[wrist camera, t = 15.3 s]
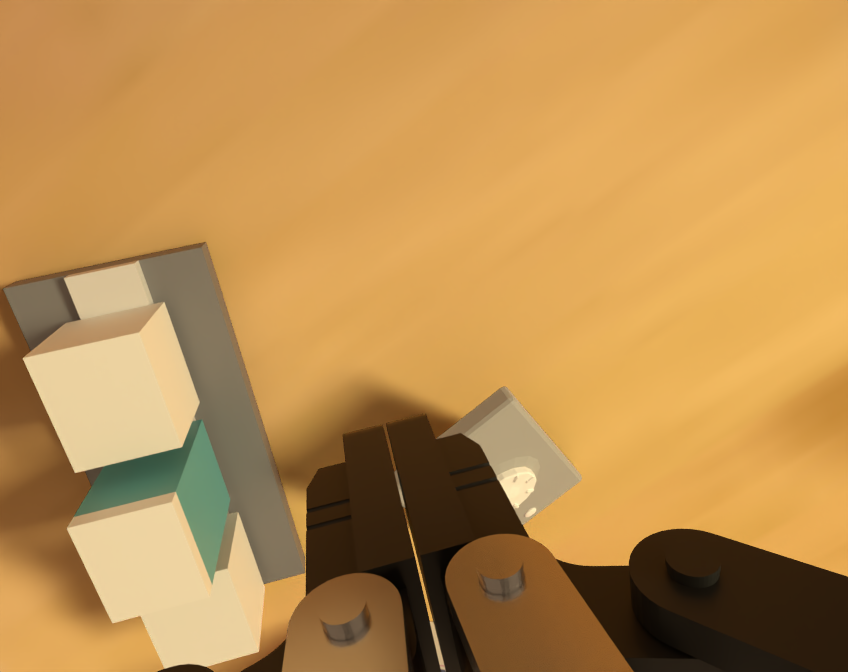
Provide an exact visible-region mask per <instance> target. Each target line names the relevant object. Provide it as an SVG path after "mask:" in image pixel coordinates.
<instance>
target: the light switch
mask: <svg viewBox="0 0 848 672" xmlns="http://www.w3.org/2000/svg"><path fill="white" fill-rule="evenodd" d="M459 433H462V434H463V435H465V436H466V437H468V438H470V439H471V440H473V441H475V442H476V443H478V444H479V445H480V446H481V448H482V450H483V452H484V453H485V455H486V457H487V459H488V461H489V464H490V466H491V467H492V468H493V470H494V472H495V474H496V476H497V479H498V480H499V482H500V484H501V485H502V487H503V489H504V491H505V493H506V495H507V497H508V499H509V500H510V502H511V504H512V506H513V508H514V510H515V512H516V514H517V516H518V517H519V519H520V521H521V523H522V525H524V524H525V523H526V522H528V521H529V520H530V519H531V518H533V517H534V516H535V515H537V514H538V513H539V512H541V511H542V510H543V509H545V508H546V507H547V506H548V505H550V504H551V503H552V502H554V501H555V500H556V499H558V498H559V497H560V496H562V495H563V494H564V493H565V492H567V491H568V490H569V489H571V488H572V487H573V486H575V485H576V484H577V483H579V482H580V481H581V479H582V477H581V474H580V473H579V472H578V471H577V469H576V468H575V467H574V466H573V465H572V463H571V462H570V461H569V460H568V459H567V457H566V456H565V455H564V454H563V453H562V452H561V450H560V449H559V448H558V447H557V446H556V445H555V443H554V442H553V441H552V440H551V439H550V437H549V436H548V435H547V434H546V433H545V432H544V430H543V429H542V428H541V427H540V426H539V425H538V423H537V422H536V421H535V420H534V419H533V417H532V416H531V415H530V414H529V413H528V412H527V410H526V409H525V408H524V407H523V406H522V405H521V403H520V402H519V401H518V400H517V399H516V398H515V396H514V395H513V394H512V393H511V392H510V390H509V389H508V388H507V387H502V388H500V389H499V390H497V391H496V392H495V393H494V394H492V395H491V396H490V397H488V398H487V399H486V400H485V401H483V402H482V403H481V404H480V405H478V406H477V407H476V408H475V409H473V410H472V411H471V412H469V413H468V414H467V415H466V416H464V417H463V418H462V419H461V420H459V421H458V422H457V423H455V424H454V425H453V426H452V427H450V428H449V429H448V430H447V431H445V432H444V433H443V434H442V435H440V436H439V437H438V438H436V439H439V438H443V437H447V436H451V435H455V434H459ZM394 473H395V478H396V482H397V486H398V490H399V494H400V498H401V502H402V506H403V507H405V504H404V500H403V496H402V491H401V487H400V483H399V478H398V474H397V470H396V471H395V472H394Z"/></svg>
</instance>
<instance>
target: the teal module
mask: <svg viewBox="0 0 848 672" xmlns="http://www.w3.org/2000/svg"><path fill="white" fill-rule="evenodd" d="M229 503H230V497H229V494H228V491H227V488H226V485H225V482H224V480H223V477H222V474H221V471H220V468H219V465H218V463H217V460H216V457H215V454H214V451H213V449H212V446H211V443H210V440H209V437H208V434H207V432H206V429H205V426H204V423H203V420H202V419H201V420H197V421H192V423H191V426H190V428H189V431H188V433H187V436H186V438H185V441H184V444H183V446H182V447H181V448H176V449H172V450H168V451H164V452H160V453H156V454H152V455H148V456H143V457H139V458H135V459H131V460H127V461H123V462H119V463H115V464H110V465H106V466H104V467H103V469H102V470H101V472H100V474H99V475H98V477H97V479H96V480H95V482H94V484H93V485H92V487H91V489H90V490H89V492H88V494H87V495H86V497H85V499H84V500H83V502H82V504H81V505H80V507H79V509H78V510H77V512H76V514H75V515H74V517H73V519H72V520H71V522H70V524H69V525H68V527H67V530H68V532H69V534H70V536H71V539H72V541H73V543H74V545H75V547H76V549H77V551H78V553H79V555H80V557H81V559H82V561H83V563H84V566H85V568H86V570H87V572H88V574H89V576H90V578H91V580H92V582H93V584H94V586H95V588H96V590H97V593H98V595H99V597H100V599H101V601H102V603H103V605H104V607H105V609H106V611H107V613H108V615H109V617H110V619H111V622H112V623H116V622H119V621H123V620H127V619H130V618H134V617H138V616H142V615H145V614H149V613H153V612H156V611H160V610H164V609H168V608H171V607H175V606H179V605H182V604H186V603H190V602H194V601H197V600H201V599H205V598H208V597H210V593H211V589H212V584H213V579H214V574H215V570H216V565H217V560H218V555H219V551H220V546H221V541H222V537H223V532H224V527H225V522H226V518H227V513H228V508H229Z"/></svg>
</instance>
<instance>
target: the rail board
mask: <svg viewBox="0 0 848 672" xmlns="http://www.w3.org/2000/svg"><path fill="white" fill-rule="evenodd" d="M3 290H4V293H5V295H6V297H7V299H8V301H9V304H10V306H11V308H12V310H13V312H14V315H15V317H16V319H17V321H18V324H19V326H20V328H21V330H22V332H23V335H24V337H25V339H26V341H27V344H28V346H29V348H30V350H31V352H30V353H28V354H27V355H26V356H25V357H23V360H24V363H25V365H26V367H27V369H28V371H29V374H30V376H31V378H32V380H33V382H34V384H35V387H36V389H37V391H38V393H39V395H40V398H41V400H42V402H43V404H44V406H45V408H46V411H47V413H48V415H49V417H50V419H51V422H52V424H53V426H54V428H55V430H56V432H57V435H58V437H59V439H60V441H61V443H62V446H63V448H64V450H65V452H66V454H67V457H68V459H69V461H70V463H71V465H72V467H73V470H74V472H75V473H78V472H82V471H85V472H86V475H87V477H88V479H89V481H90V484H91V486H92V485H93V484H94V482H95V480H96V479H97V477H98V475H99V474H100V472H101V470H102V469H103V467H104V466H106V465H110V464H115V463H119V462H123V461H127V460H131V459H135V458H139V457H143V456H148V455H152V454H156V453H160V452H164V451H168V450H172V449H176V448H181V447H182V446H183V444H184V441H185V438H186V436H187V433H188V431H189V428H190V426H191V423H192V421H197V420H201V419H202V420H203V423H204V426H205V429H206V432H207V434H208V437H209V440H210V443H211V446H212V449H213V451H214V454H215V457H216V460H217V463H218V465H219V468H220V471H221V474H222V477H223V480H224V482H225V485H226V488H227V491H228V494H229V497H230V503H229V508H228V513H227V518H226V522H225V527H224V532H223V537H222V541H221V546H220V551H219V555H218V560H217V565H216V570H215V574H214V579H213V584H212V589H211V593H210V597H208V598H205V599H201V600H197V601H194V602H190V603H186V604H182V605H179V606H175V607H171V608H168V609H164V610H160V611H156V612H153V613H149V614H145V615H142V616H141V618H142V620H143V623H144V625H145V627H146V629H147V631H148V633H149V636H150V638H151V640H152V642H153V644H154V647H155V649H156V651H157V653H158V655H159V657H160V660H161V662H162V664H163V666H164V668H165V669H166V668H169V667H173V666H177V665H183V664H196V665H201V666H205V667H207V666H211V665H214V664H218V663H221V662H225V661H228V660H232V659H236V658H239V657H243V656H246V655H250V654H253V653H257V652H259V645H260V635H261V624H262V614H263V604H264V593H265V587H264V584H266V583H270V582H273V581H277V580H281V579H285V578H288V577H292V576H296V575H299V574H303V573H305V556H304V553H303V550H302V547H301V544H300V540H299V537H298V534H297V531H296V528H295V524H294V521H293V518H292V515H291V512H290V508H289V505H288V502H287V499H286V496H285V492H284V489H283V486H282V483H281V480H280V477H279V473H278V470H277V467H276V464H275V461H274V457H273V454H272V451H271V448H270V445H269V441H268V438H267V435H266V432H265V429H264V425H263V422H262V419H261V416H260V413H259V409H258V406H257V403H256V400H255V397H254V394H253V390H252V387H251V384H250V381H249V378H248V374H247V371H246V368H245V365H244V362H243V358H242V355H241V352H240V349H239V346H238V342H237V339H236V336H235V333H234V330H233V326H232V323H231V320H230V317H229V314H228V311H227V307H226V304H225V301H224V298H223V295H222V291H221V288H220V285H219V282H218V279H217V275H216V272H215V269H214V266H213V263H212V259H211V256H210V253H209V250H208V247H207V243H206V242H204V243H199V244H194V245H190V246H185V247H180V248H175V249H170V250H166V251H161V252H156V253H151V254H146V255H142V256H137V257H132V258H127V259H122V260H118V261H113V262H108V263H103V264H98V265H93V266H89V267H84V268H79V269H74V270H69V271H65V272H60V273H55V274H50V275H45V276H41V277H36V278H31V279H26V280H21V281H17V282H15V283H13V284H11V285H9V286H7V287H5V288H3Z"/></svg>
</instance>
